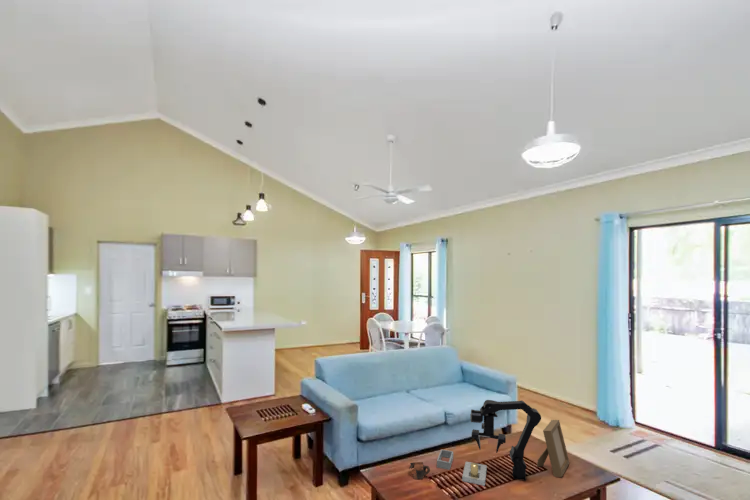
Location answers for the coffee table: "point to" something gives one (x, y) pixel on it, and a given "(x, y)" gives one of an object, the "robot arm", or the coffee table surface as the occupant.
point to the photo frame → (554, 449)
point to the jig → (479, 480)
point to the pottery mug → (419, 470)
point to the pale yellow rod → (474, 470)
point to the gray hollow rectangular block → (443, 463)
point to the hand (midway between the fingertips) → (488, 451)
